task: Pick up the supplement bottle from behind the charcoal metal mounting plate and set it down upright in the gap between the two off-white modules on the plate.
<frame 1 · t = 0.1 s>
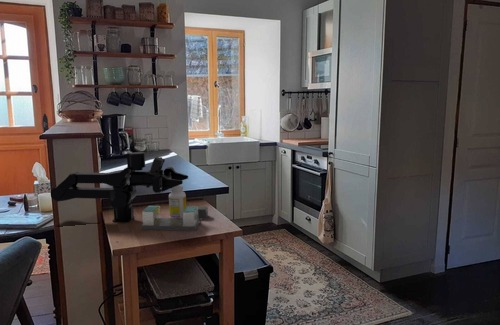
hand: (185, 179, 147), 17 cm above the table, tool horizontal, fingers open, 9 cm apart
loose device: (200, 217, 154), on the table
supplement bottle: (178, 218, 154), on the table
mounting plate: (171, 225, 144), on the table
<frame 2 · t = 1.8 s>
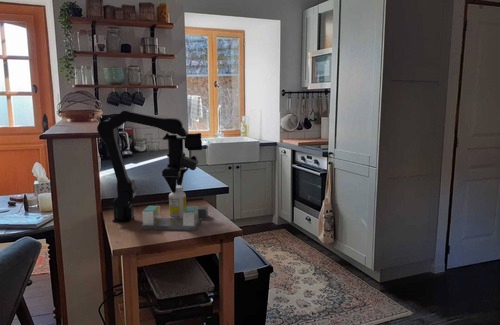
hand: (177, 189, 152), 12 cm above the table, tool pointing down, fingers open, 9 cm apart
nothing on the table moved.
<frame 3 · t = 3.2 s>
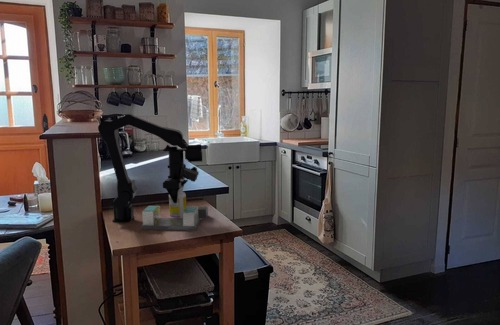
hand: (177, 200, 153), 7 cm above the table, tool pointing down, fingers closed on supplement bottle, 7 cm apart
supplement bottle: (178, 217, 154), on the table, touching gripper
everything else where it was.
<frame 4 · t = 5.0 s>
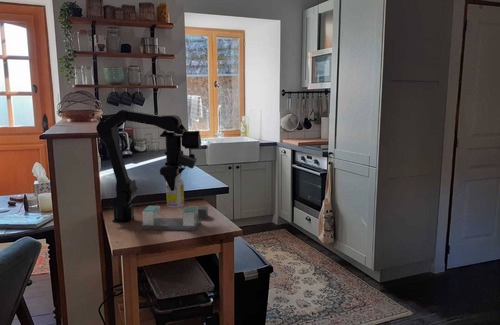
hand: (174, 188, 148), 13 cm above the table, tool pointing down, fingers closed on supplement bottle, 7 cm apart
supplement bottle: (175, 206, 150), point 6 cm above the table, touching gripper
everything else where it was.
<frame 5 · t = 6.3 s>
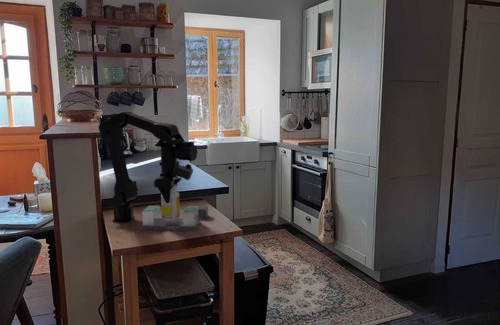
hand: (170, 200, 143), 10 cm above the table, tool pointing down, fingers closed on supplement bottle, 7 cm apart
supplement bottle: (171, 218, 144), point 3 cm above the table, touching gripper
everything else where it was.
when the fingers open (10 cm above the table, at t = 7.1 s): supplement bottle drops 1 cm, resting on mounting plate.
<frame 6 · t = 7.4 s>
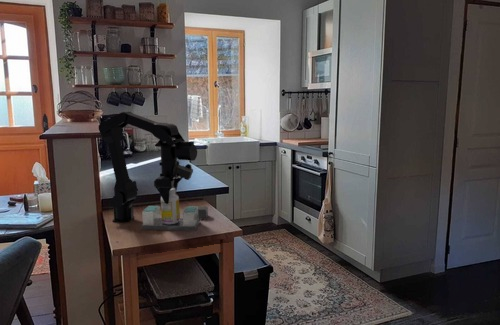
hand: (170, 200, 142), 10 cm above the table, tool pointing down, fingers open, 9 cm apart
supplement bottle: (171, 222, 144), point 1 cm above the table, touching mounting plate
everything else where it was.
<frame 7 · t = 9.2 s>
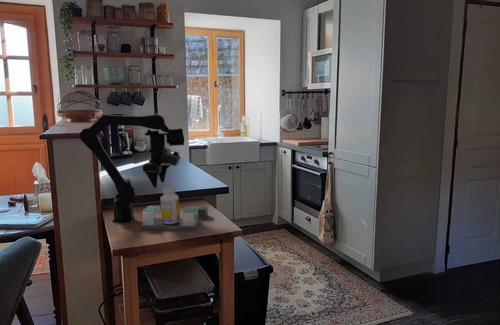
hand: (159, 184, 154), 13 cm above the table, tool pointing down, fingers open, 9 cm apart
nothing on the table moved.
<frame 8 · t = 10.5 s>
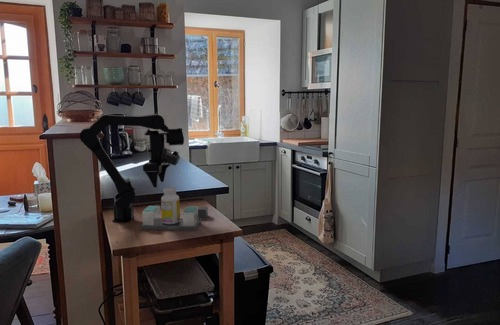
hand: (158, 184, 154), 13 cm above the table, tool pointing down, fingers open, 9 cm apart
nothing on the table moved.
at the end: supplement bottle 0.1 cm from the target spot, point 1.3 cm above the table; supplement bottle tilted 0°; the gripper is holding nothing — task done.
